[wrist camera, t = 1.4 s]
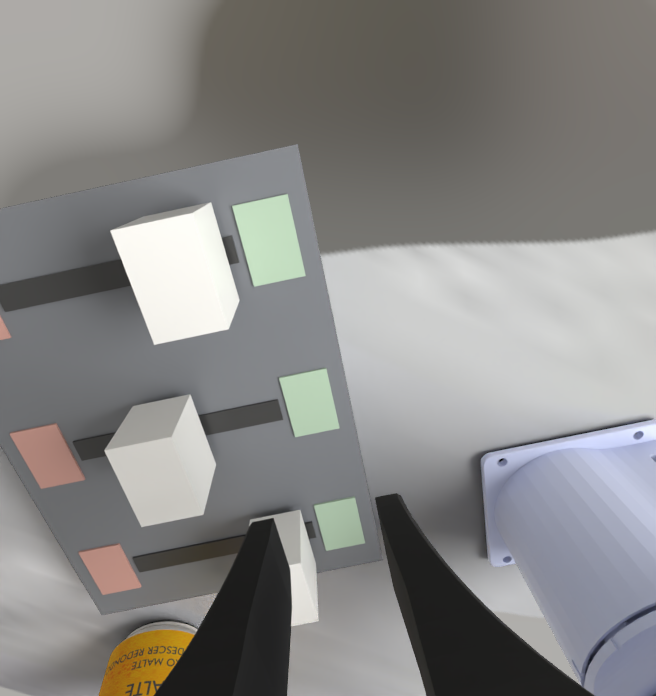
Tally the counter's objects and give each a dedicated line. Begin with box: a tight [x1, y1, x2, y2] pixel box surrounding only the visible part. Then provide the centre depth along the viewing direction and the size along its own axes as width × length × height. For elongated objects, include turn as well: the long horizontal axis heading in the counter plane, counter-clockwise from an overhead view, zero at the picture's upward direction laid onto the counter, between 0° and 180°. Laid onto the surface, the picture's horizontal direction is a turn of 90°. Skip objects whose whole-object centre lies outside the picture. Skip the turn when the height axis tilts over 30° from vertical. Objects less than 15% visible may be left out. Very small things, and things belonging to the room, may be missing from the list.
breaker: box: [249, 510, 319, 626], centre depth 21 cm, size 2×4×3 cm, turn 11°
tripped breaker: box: [104, 394, 216, 527], centre depth 18 cm, size 2×4×3 cm, turn 11°
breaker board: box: [0, 144, 383, 615], centre depth 20 cm, size 15×20×2 cm
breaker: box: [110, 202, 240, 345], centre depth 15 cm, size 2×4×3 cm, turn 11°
